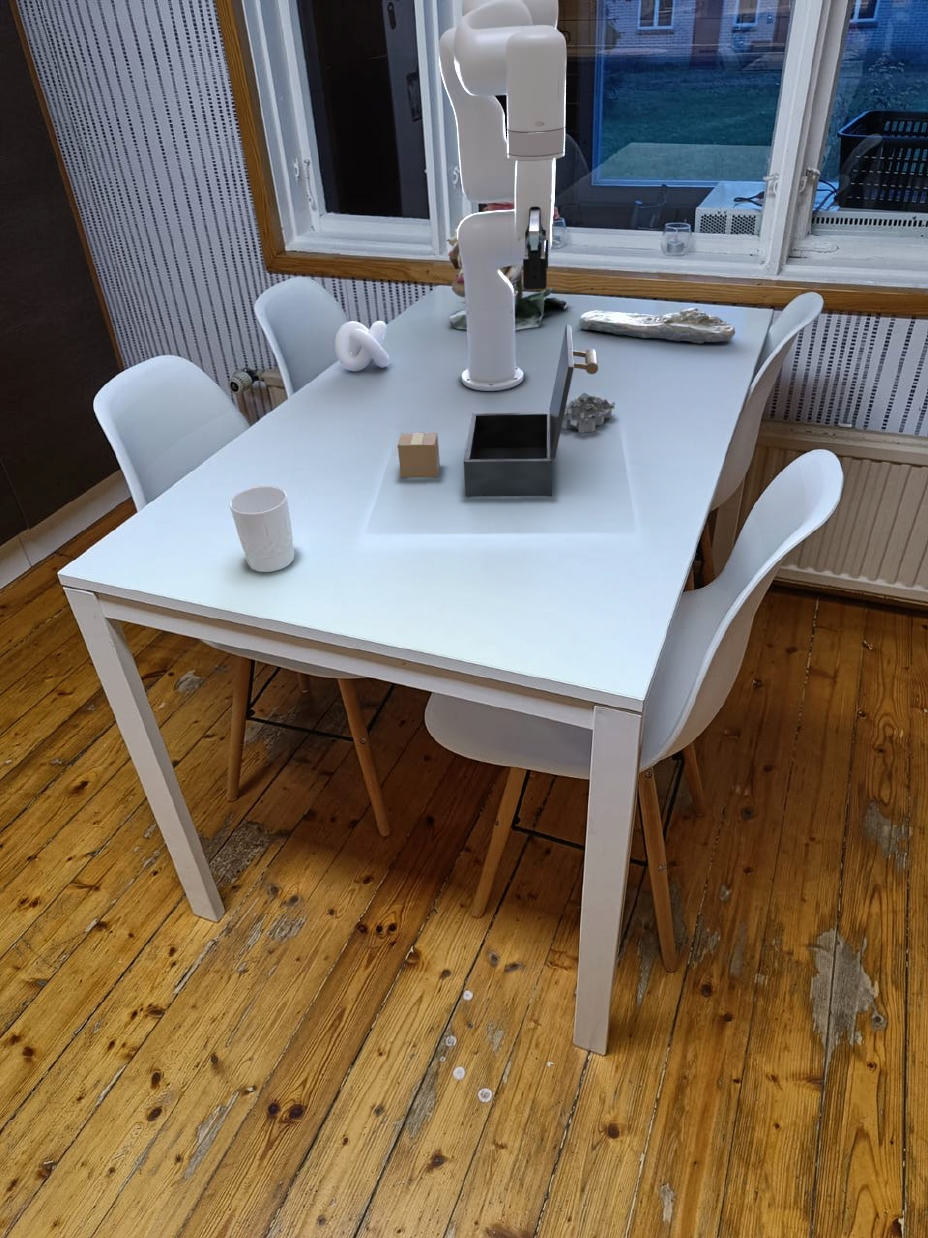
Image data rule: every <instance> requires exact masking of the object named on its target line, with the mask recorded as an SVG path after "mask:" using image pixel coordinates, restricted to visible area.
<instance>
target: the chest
mask: <svg viewBox="0 0 928 1238" xmlns="http://www.w3.org/2000/svg"><path fill="white" fill-rule="evenodd" d="M463 474H464V491H465V492H464V493H465V494H464V495H465V497H466V498H467V497H471V498H473V497H474V498H475V497H552V496H553V458H550V411H547V412H546V411H545V412H542V411H541V412H494V413H493V412H491V413H490V412H489V413H488V412H487V413H486V412H485V413H483V412H482V413H471V416H470V421H469V427H468V434H467V440H466V445H465V452H464V458H463Z"/></svg>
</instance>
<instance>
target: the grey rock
mask: <svg viewBox="0 0 928 1238" xmlns="http://www.w3.org/2000/svg"><path fill="white" fill-rule="evenodd" d="M615 405H616V403H615V402H612V403H610V402H609V401H608V399H606V398H605V399H602V397H597V396H596V395H593V396H591V395H590V394H588V393H586V392H582V393H581V394H580V395H579V396H578V397H577V398H576V399H574V400H571V401H570V402H569V403H568V404H566V408H565V413H564V418H563V422H562V427H561V430H562V429H563V430H569V429H576V430H578V433H581V434H586V433H593V432H594V431H596V426H602V425H603V424H604V422H605V419H610V418H612V413H613V410H615ZM575 419H577V420H575Z"/></svg>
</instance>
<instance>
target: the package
mask: <svg viewBox="0 0 928 1238" xmlns="http://www.w3.org/2000/svg"><path fill="white" fill-rule="evenodd" d="M397 452H398V460H399V461H398V463H399V470H400V471H399V472H400V478H438V474H439V470H440V464H441V463H440V452H439V437H438V433H437V432H412V433H401V434H400V437H399V441H398V444H397Z"/></svg>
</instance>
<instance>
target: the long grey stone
mask: <svg viewBox="0 0 928 1238" xmlns="http://www.w3.org/2000/svg"><path fill="white" fill-rule="evenodd" d="M578 326H579V327H580V328H581V329H582V330H583V331H585V330H594V331H597V332H598V331H599V332H604V333H608V334H609V333H611V334H615V335H619V336H621V335H624V336H630V337H634V338H644V339H647V338H648V339H650V338H652V339H664V340H668V341H675V342H682V341H684V342H692V343H694V344H699V345H700V344H704V343H705V342H706V343H718V342H729V341H731V340H732V339H733V337H734V336H735V334H736V328H735V326H733V325H732V324H730V323H728V322H727V320H725V321H724V320H723V319H721V318H719V317H718V316H716V315H713V314H707V313H706V312H704V311H699V309H698V308H697V307H691V308H686V309H683V310H680V311H678V312H669V313H667V314H660V315H653V314H647V313H646V314H643V313H628V312H617V311H604V310H600V309H598V310H590V311H587V312H584V313H581V315H580V318H579V319H578Z"/></svg>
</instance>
